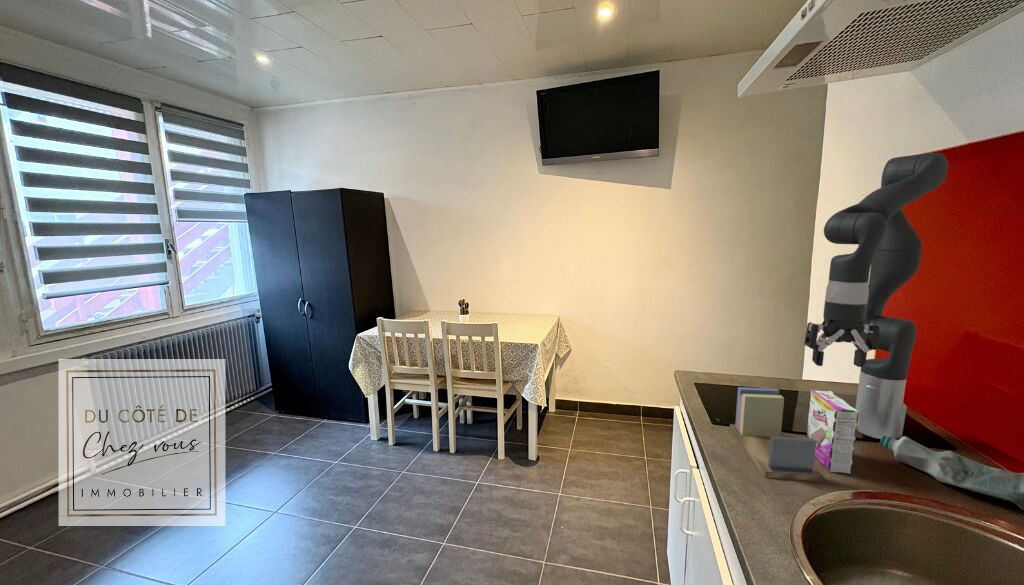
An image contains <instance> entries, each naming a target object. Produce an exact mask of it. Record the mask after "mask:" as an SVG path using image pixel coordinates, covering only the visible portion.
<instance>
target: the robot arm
mask: <svg viewBox="0 0 1024 585" xmlns="http://www.w3.org/2000/svg"><path fill="white" fill-rule="evenodd" d="M948 169H949V162H948V158H947V156H945V155H944V154H943V153H938V152H931V153H930V152H928V153H926V152H925V153H921V154H919V153H918V154H912V155H903V156H896V157H892V158H890V159H889V160H888V161H887V162H886V163H885V165H884V167H883V170H882V175H881V182H880V188H877V189H876V190H874V191H872V192H871V193H869V194H867V195H866V196H865V197H864V198H863V199H861V201H859V202H858V203H856V204H853V205H851V206H848V207H846V208H843V209H841V210H839V211H837V212H836V213H834V214H832V215H831V216H830V217H829V218H828V219H827V221H826V222H825V224H824V227H823V235H824V237H825V239H826V240H827V241H828V242H830V243H832V244H837V245H858V246H857V248H856V249H855V251H854V252H851V253H844V254H838V255H835V256H833V257H832V258H831V259H830V265H829V272H828V273H829V274H828V282H827V285H826V289H825V297H824V305H823V321H822V323H814V322H811V321H810V322H808V323H807V326H806V331H805V336H804V343H803V344H804V346H805V347H808V348H809V349H811V350H812V358H811V361H812V362H813V363H814V364H815V365H816V366H817V367H822V366H823V365H824V357H825V356H824V355H825V351H824V350H825V349H827V347H828V346H831V345H833V343H834V342H835V343H844V342H845V343H850V344H853V346H854V347H855V348H856V349H854V357H853V365H854V366H856V367H858V368H860V370H859V378H858V381H859V382H858V388H857V394H856V401H855V409H856V410H857V411H859V414H858V421H857V430H858V431H857V430H856V431H857V432H858V433H861V434H862V435H865V436H868V437H871V438H874V439H880V440H881V438H882V437H883V436H886V437H892V438H894V439H896V440H897V439H901V438H902V437H903V432H904V426H905V418H906V413H907V407H908V406H907V405H906V404H905V403H904V397H905V392H906V391H905V390H906V384H907V378H908V372H909V369H910V365H911V361H912V354H913V350H914V346H915V344H916V343H915V342H916V338H917V326H916V324H915V322H914V321H912V320H909V319H904V318H898V317H892V316H886V315H883V311H884V309H885V306H886V305H887V302H888V301H889V299H890V298H891V297H892V296H893V295H894V294H895V293H896V292H897V291H898V290H899V289H900V288H901V287H903V286H904V285H905V284H907V282H909V280H911V279H912V278H913V277H914V275H915V274H916V273H917V272H918V270H919V268H920V265H921V257H922V254H923V252H922V251H923V247H924V246H923V241H922V239H921V237H920V236H919V234H918V232H917V231H916V230H915V228H914V226H913V225H912V224H911V222H910V221H909V220H908V218H907V216H906V215H905V213H904V210H903V208H905V207H907V205H909V204H911V203H913V202H914V201H916V200H918V199H920V198H922V197H923V196H925V195H927V194H929V193H931V192H932V191H934V190H936V189H938V188H939V187H940V186H941V185H942V184H943V183H944V181H945V180H946V178H947V175H948V171H949V170H948ZM821 331H822V333H821V334H820V335H819V333H820V332H821ZM873 350H874V351H877V350H880V351H884V352H889V355H888V356H887V357H884V358H868V359H867V355H868V352H869V351H873Z"/></svg>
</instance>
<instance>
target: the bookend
mask: <svg viewBox="0 0 1024 585" xmlns="http://www.w3.org/2000/svg"><path fill="white" fill-rule="evenodd" d="M815 447H816V441H815V440H814V439H813V438H806V437H795V436H794V437H793V436H792V437H791V436H785V437H777V436H771V441H770V452H769V463H768V467H769V468H770V469H771V471H772V472H777V473H791V474H805V475H815V473H814V472H813V466H814V465H815V463H814V462H815Z"/></svg>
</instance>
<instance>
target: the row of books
mask: <svg viewBox="0 0 1024 585" xmlns="http://www.w3.org/2000/svg"><path fill="white" fill-rule="evenodd" d="M736 395H737V397H736V398H737V399H736V410H735V423H734V424H735V426H736V428H737V429H738V430H739V432H740V433H741V434H742V435H746V436H763V437H771V436H777V437H781V433H782V427H783V426H782V424H783V415H784V405H785V397H784V396H782V395H781V394H780V389H778V388H773V387H747V386H746V387H744V386H742V387H741V386H740V387H737V394H736Z"/></svg>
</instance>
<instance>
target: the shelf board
mask: <svg viewBox="0 0 1024 585" xmlns="http://www.w3.org/2000/svg"><path fill="white" fill-rule="evenodd" d="M729 430H730V431H731V432H732V434H733V435H734V436H735V438H736V440H737V441H738V442H739V443H740V445H741V446H742V448H743V449H744V451H745V452H746V453H747V455H748V456H749V457H750V459H751V460H752V462H754V464H755V466H756V467H757V469H759V471H760V472H761V474H762V475H763V477H765V478H768V479H784V480H798V481H810V482H811V481H813V482H822V481H823V475H822V473H820V471H819V470H818V469H817V468H816V467H815V466H814V465H813V472H814V473H815V475H805V474H791V473H777V472H772V471H771V469H770V468H769V467H768V463H769V452H770V441H771V437H763V436H746V435H742V434H741V433H740V432H739V430H738V429H737V428H736V426H735V423H734V424H733V423H730V424H729ZM781 437H786V436H785V435H784V434H783V433H782V432H781Z"/></svg>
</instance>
